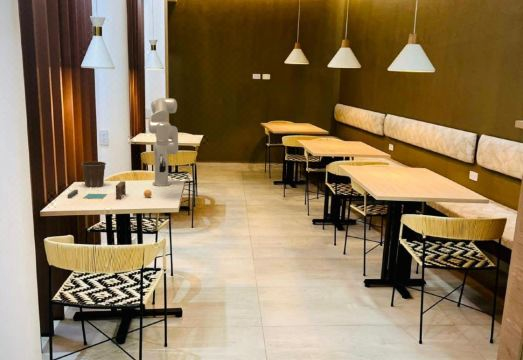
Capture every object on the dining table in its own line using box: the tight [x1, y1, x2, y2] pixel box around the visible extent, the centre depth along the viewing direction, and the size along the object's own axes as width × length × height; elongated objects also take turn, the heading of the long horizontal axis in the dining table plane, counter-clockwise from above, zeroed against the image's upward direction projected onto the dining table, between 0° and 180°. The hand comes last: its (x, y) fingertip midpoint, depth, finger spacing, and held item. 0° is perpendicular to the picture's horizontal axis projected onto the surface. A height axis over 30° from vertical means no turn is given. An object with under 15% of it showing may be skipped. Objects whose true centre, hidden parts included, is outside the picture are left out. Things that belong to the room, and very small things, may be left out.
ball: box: [143, 189, 153, 199], centre depth 314 cm, size 5×5×5 cm
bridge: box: [115, 180, 127, 200], centre depth 313 cm, size 3×14×9 cm, turn 3°
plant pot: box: [81, 161, 107, 189], centre depth 341 cm, size 16×16×16 cm
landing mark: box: [83, 193, 108, 200], centre depth 313 cm, size 12×12×1 cm
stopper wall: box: [67, 189, 79, 199], centre depth 311 cm, size 14×2×2 cm, turn 3°
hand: (162, 171), depth 312 cm, fingers open, 4 cm apart
